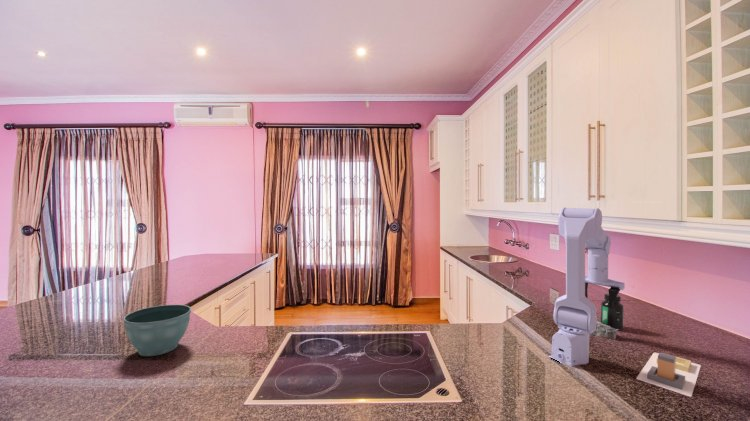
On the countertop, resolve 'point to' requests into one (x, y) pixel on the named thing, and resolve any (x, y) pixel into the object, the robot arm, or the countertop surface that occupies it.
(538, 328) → the countertop surface
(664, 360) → the peg
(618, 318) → the supplement bottle
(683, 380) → the socket board
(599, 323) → the egg carton
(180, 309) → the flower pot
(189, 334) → the countertop surface
